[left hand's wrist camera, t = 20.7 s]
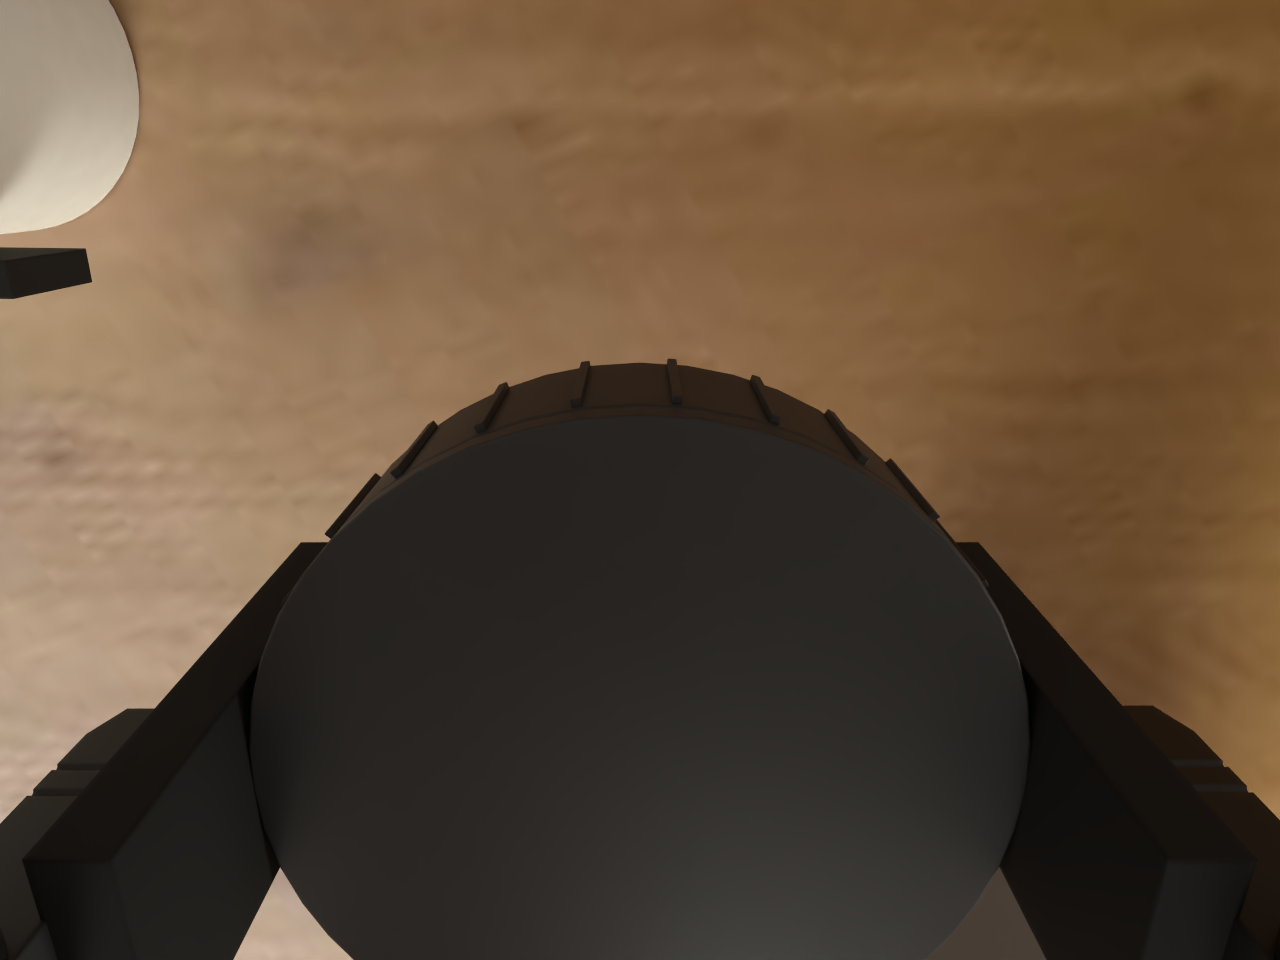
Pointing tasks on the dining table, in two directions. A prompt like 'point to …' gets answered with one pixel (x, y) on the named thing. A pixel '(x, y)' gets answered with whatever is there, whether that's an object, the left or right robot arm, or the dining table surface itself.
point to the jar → (62, 109)
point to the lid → (639, 690)
